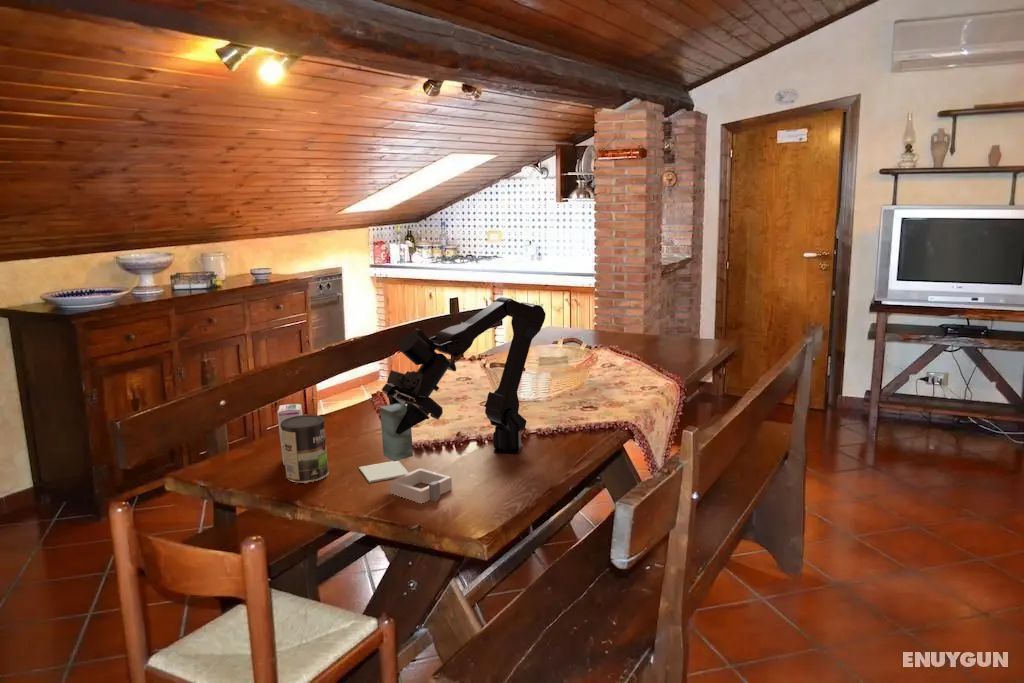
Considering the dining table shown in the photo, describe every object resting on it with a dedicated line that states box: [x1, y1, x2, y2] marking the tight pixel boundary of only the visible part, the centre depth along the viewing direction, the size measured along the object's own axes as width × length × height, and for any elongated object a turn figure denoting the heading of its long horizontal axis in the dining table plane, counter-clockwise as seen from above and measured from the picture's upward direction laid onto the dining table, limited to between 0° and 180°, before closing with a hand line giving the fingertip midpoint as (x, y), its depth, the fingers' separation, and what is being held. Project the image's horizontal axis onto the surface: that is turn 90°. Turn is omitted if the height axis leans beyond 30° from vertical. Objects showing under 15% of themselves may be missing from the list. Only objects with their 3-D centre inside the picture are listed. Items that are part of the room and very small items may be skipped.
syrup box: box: [277, 403, 303, 466], centre depth 202 cm, size 6×6×14 cm
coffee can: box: [281, 414, 330, 484], centre depth 192 cm, size 10×10×14 cm
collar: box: [389, 467, 453, 505], centre depth 181 cm, size 10×11×4 cm
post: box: [379, 403, 414, 462], centre depth 184 cm, size 5×5×12 cm
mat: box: [358, 460, 410, 484], centre depth 194 cm, size 10×10×1 cm
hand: (391, 430), depth 183 cm, fingers closed on post, 5 cm apart
